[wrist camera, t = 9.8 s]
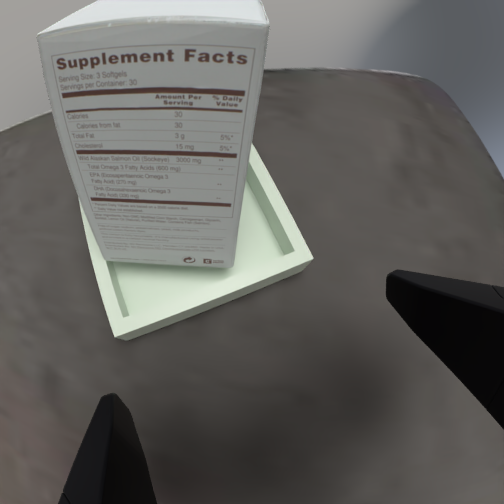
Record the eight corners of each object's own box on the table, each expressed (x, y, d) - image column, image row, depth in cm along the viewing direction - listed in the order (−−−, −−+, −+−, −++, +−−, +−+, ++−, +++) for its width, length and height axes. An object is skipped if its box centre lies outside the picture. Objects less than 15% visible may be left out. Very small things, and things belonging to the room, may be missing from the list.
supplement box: (129, 174, 20) (111, -9, 10) (237, 179, 21) (264, -11, 11) (100, 264, 16) (28, 32, 6) (234, 273, 17) (277, 17, 7)
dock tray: (301, 271, 20) (313, 258, 18) (126, 340, 17) (114, 337, 15) (231, 134, 23) (234, 111, 21) (84, 183, 20) (73, 164, 18)
